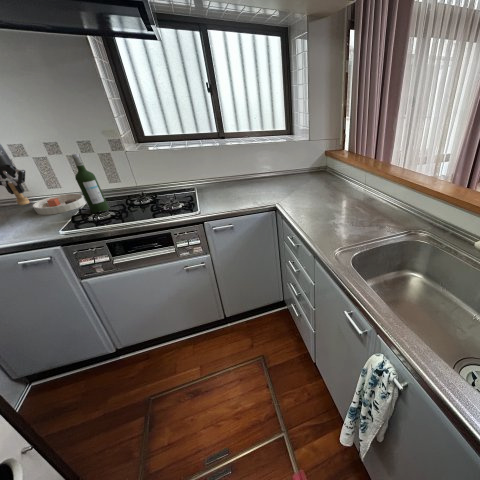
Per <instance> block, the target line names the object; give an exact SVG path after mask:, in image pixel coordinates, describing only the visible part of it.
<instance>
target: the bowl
mask: <svg viewBox="0 0 480 480" xmlns="http://www.w3.org/2000/svg"><path fill="white" fill-rule="evenodd" d="M54 198H58V200H59V202H60V203H61V204H60V205H58V206H54V207H50V206H49V204H48V202H47V201H48V200H49V199H54ZM70 199H76V201H74V202H72V203H69V204H66V203H65V201H67V200H70ZM86 204H87V201H86V199H85V197H84V195H83V194H81V193H66V194H59V195H54V196H50V197H47V198H42V199H40V200H38V201H36V202H35V203H33V204H32V208H33V210H34V211H35V213H36V214H37V215H41V216H47V215H49V216H50V215H57V214H62V213H67V212H71V211H73V210H76V209H80V208H81V207H83V206H84V205H86Z"/></svg>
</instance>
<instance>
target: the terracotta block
mask: <svg viewBox="0 0 480 480" xmlns="http://www.w3.org/2000/svg"><path fill="white" fill-rule="evenodd" d="M47 202H48V204H49V206H50V207H54V206H58V205H60V204H61V203H60V202H59V200H58V198H54V199H49V200H48V201H47Z"/></svg>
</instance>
